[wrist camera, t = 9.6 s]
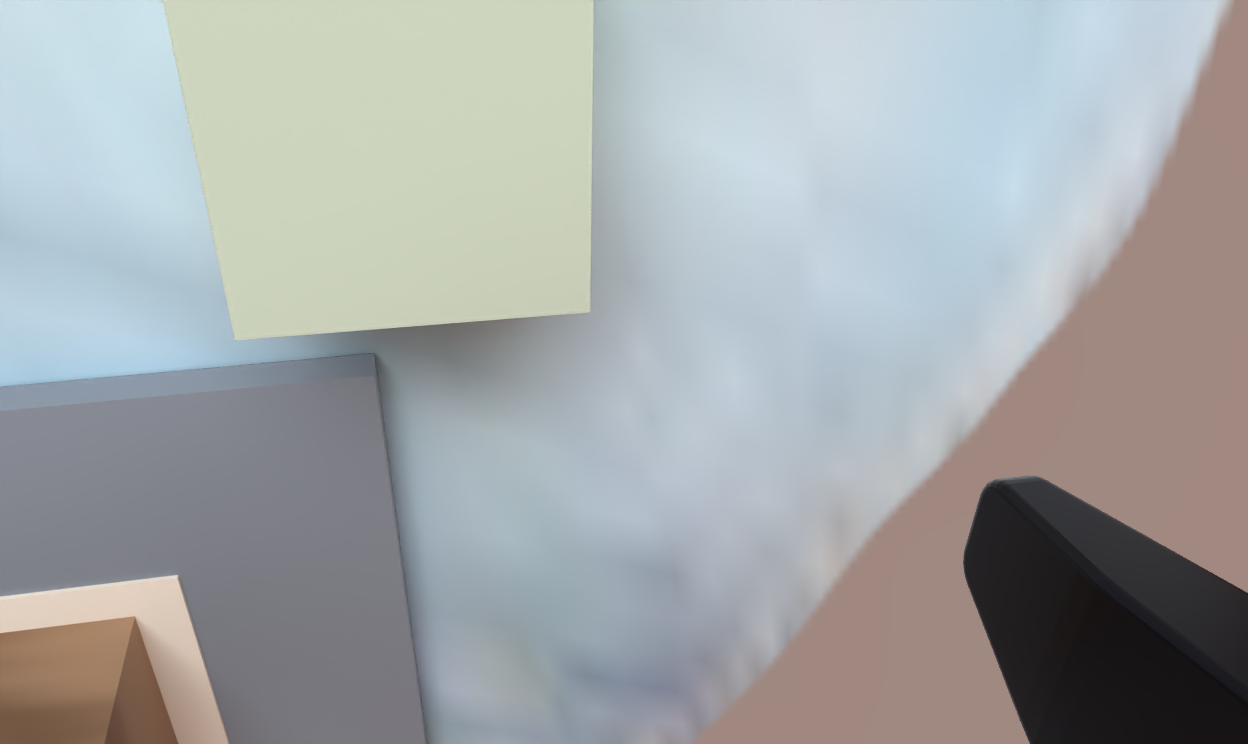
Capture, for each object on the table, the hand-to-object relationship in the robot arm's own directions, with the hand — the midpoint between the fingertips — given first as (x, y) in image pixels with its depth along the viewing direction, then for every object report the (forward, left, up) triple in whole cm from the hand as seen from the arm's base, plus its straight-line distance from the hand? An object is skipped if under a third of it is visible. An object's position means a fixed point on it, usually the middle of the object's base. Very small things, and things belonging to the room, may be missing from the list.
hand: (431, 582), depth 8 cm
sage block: (0, 0, -12) cm, 12 cm away
